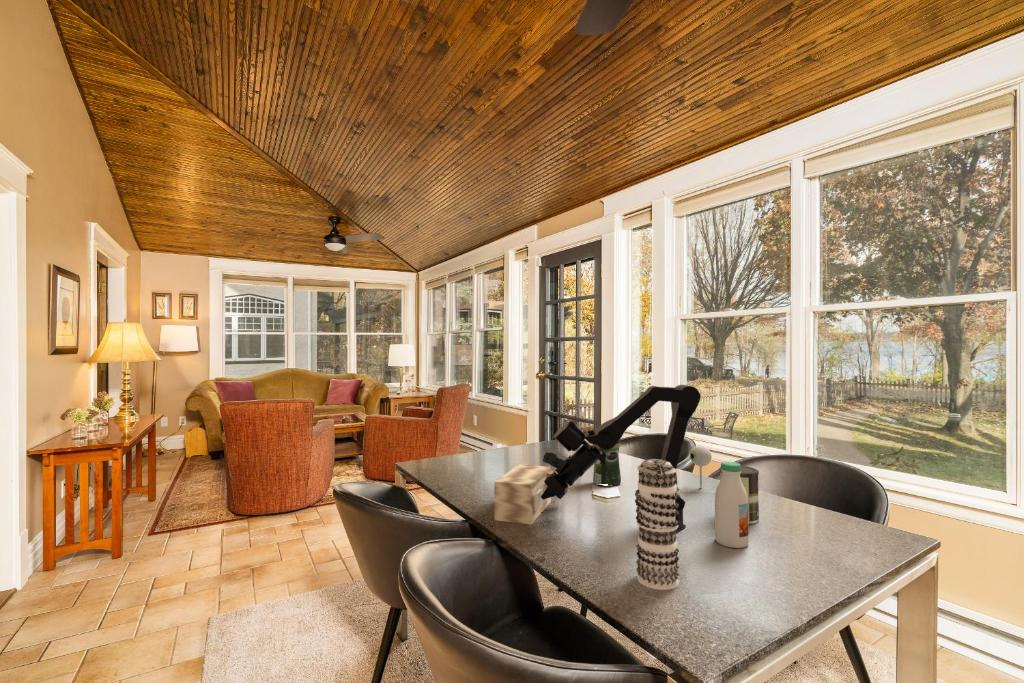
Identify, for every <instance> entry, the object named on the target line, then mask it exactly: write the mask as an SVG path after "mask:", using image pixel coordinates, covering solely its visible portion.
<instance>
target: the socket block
mask: <svg viewBox="0 0 1024 683" xmlns="http://www.w3.org/2000/svg"><path fill="white" fill-rule="evenodd" d="M548 471H552V466H544V465H533V464H523V463H521V464H520V463H519V464H517V465H515V466H514V467H513V468H511V469H510V470H509V471H507V472H506V473H504V474H503V475H502V476H500V477H499V478H497V479H496V480H494V482H493V483H494V484H493V486H494V490H493V491H494V493H493V494H494V496H493V498H494V499H493V500H494V504H493V505H494V506H493V507H494V521H498V522H499V521H500V522H506V523H515V524H523V525H531V526H532V524H533V523H534V522H535V521H536V519H538V517H539V516H541V514H542V513H543V512H544V511H545V509H546V508H547V507H548V505H549V504H550V503H551V502H552V497H550V498H547V499H544V500H543V506H542V507H541V509H540V510H539V511H535V507H533V494H534V493H535V492H537V491H538V490H539V489H543V493H544V491H545V490H546V488H547V487H548V486H547V485H546V484H545V482H544V480H546V479H547V472H548ZM541 512H542V513H541Z"/></svg>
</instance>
